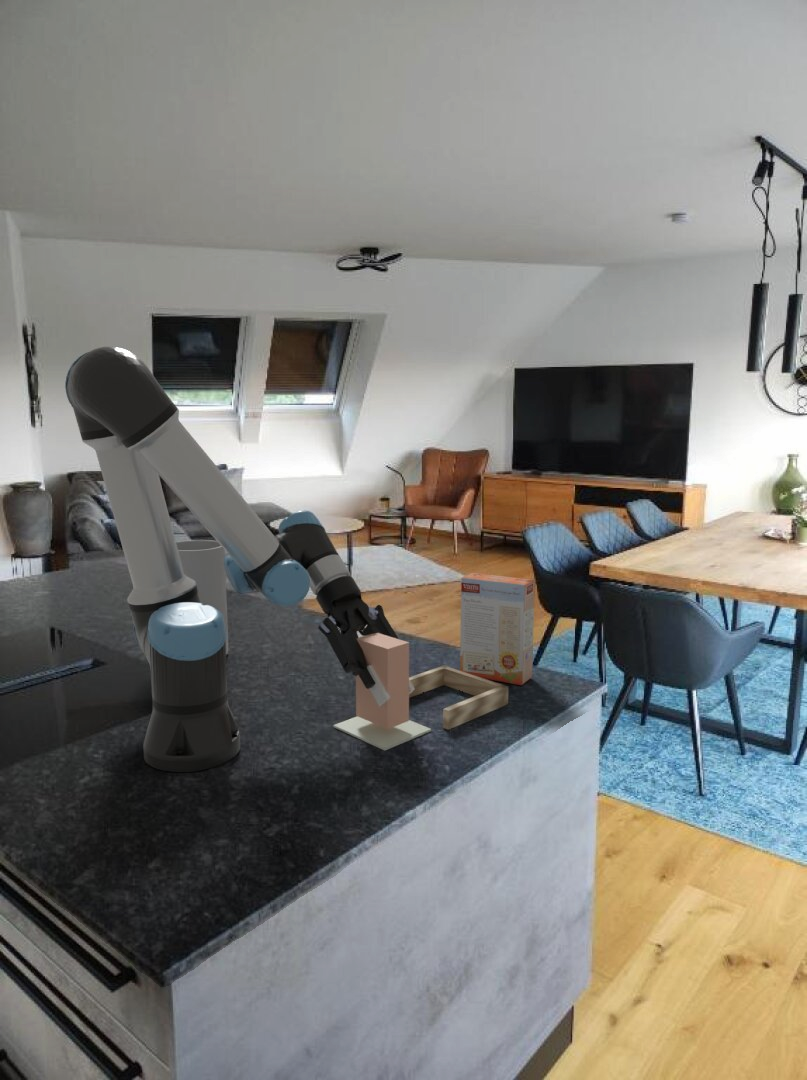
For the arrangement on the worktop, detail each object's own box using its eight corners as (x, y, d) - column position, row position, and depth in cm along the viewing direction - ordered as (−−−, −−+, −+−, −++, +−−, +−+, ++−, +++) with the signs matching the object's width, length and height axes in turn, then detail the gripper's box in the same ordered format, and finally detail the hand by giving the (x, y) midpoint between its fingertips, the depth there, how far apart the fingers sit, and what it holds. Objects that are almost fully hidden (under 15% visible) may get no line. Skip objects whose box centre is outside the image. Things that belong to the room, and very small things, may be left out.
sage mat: (384, 750, 129) (384, 748, 129) (333, 727, 138) (333, 725, 138) (431, 731, 137) (431, 728, 137) (379, 710, 146) (379, 708, 146)
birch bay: (448, 729, 137) (448, 710, 137) (383, 703, 149) (383, 686, 148) (507, 704, 149) (508, 686, 148) (443, 682, 160) (443, 665, 160)
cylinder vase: (185, 669, 167) (179, 553, 163) (161, 654, 177) (155, 544, 172) (238, 657, 175) (234, 546, 171) (212, 643, 185) (208, 538, 180)
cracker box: (533, 678, 163) (536, 578, 159) (521, 687, 158) (525, 584, 154) (471, 666, 170) (473, 570, 166) (458, 674, 165) (460, 576, 161)
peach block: (387, 729, 133) (387, 649, 130) (356, 715, 138) (355, 638, 136) (408, 720, 136) (409, 642, 134) (377, 707, 142) (376, 632, 139)
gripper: (361, 589, 151) (423, 694, 142) (283, 607, 138) (346, 723, 130) (380, 566, 146) (445, 673, 138) (302, 582, 134) (368, 701, 125)
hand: (397, 697), depth 134 cm, fingers closed on peach block, 5 cm apart
